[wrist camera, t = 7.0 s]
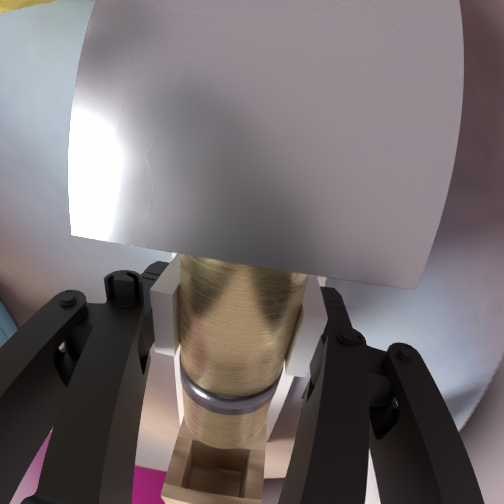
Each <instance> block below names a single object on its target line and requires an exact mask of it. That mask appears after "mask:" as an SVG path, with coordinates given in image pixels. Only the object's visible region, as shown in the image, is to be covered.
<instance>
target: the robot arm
mask: <svg viewBox="0 0 504 504" xmlns="http://www.w3.org/2000/svg"><path fill="white" fill-rule="evenodd" d="M104 283H105V290H106V296H107V301H106V303H104V304H96V303H87V301H86V297H85V295H84V294H83V293H82V292H80V291H76V290H66V291H63V292H60V293H59V294H57V295H56V296H55V297H53V298H52V299H51V300H50V301H49V302H48V303H47V304H45V305H44V306H43V307H42V308H41V309H40V310H39V311H38V312H37V313H35V314H34V315H33V316H32V317H31V318H30V319H29V320H28V321H27V322H26V323H25V324H24V325H23V326H22V327H21V328H19V329H18V330H17V331H16V332H15V333H14V334H13V335H12V336H11V337H10V338H9V339H8V340H7V341H6V342H5V343H4V344H3V345H2V346H1V347H0V504H9V503H10V501H11V500H12V498H13V496H14V494H15V492H16V490H17V488H18V486H19V484H20V482H21V480H22V478H23V477H24V475H25V473H26V471H27V469H28V468H29V466H30V464H31V463H32V461H33V459H34V457H35V456H36V454H37V452H38V450H39V449H40V447H41V446H42V444H43V442H44V441H45V439H46V437H47V436H48V434H49V433H50V431H51V429H52V428H53V430H52V434H51V437H50V440H49V444H48V447H47V451H46V454H45V458H44V462H43V466H42V470H41V474H40V479H39V483H38V488H37V491H36V492H35V494H34V495H32V496H30V497H27V498H25V499H24V500H23V501H22V502H21V503H20V504H132V490H133V477H134V466H135V457H136V448H137V440H138V432H139V425H140V418H141V411H142V405H143V399H144V393H145V387H146V381H147V376H148V371H149V365H150V360H151V358H150V348H151V346H152V344H153V343H154V345H155V352H158V353H162V354H166V355H170V356H174V357H175V355H176V352H177V350H178V348H179V345H180V254H178V253H177V254H176V256H175V257H174V258H173V260H172V261H171V262H170V263H167V262H161V261H157V262H155V263H153V264H151V265H149V266H148V268H147V269H146V270H145V271H144V273H142V274H141V275H140V274H138V273H137V272H134V271H129V270H120V271H115V272H112V273H110V274H108V275H107V276H106V277H105V278H104ZM62 343H64V348H63V349H61V350H59V348H58V347H59V346H60V345H61V344H62ZM309 368H310V374H311V378H310V380H309V382H308V384H307V387H306V389H305V391H304V393H303V395H302V399H304V403H303V407H302V412H301V417H300V421H299V426H298V430H297V435H296V439H295V443H294V447H293V451H292V455H291V459H290V463H289V467H288V470H287V474H286V478H285V481H284V485H283V489H282V492H281V495H280V498H279V502H278V504H365V499H366V489H367V477H368V462H369V449H370V454H371V458H372V463H373V468H374V472H375V477H376V482H377V487H378V492H379V498H380V503H381V504H484V501H483V497H482V494H481V491H480V488H479V485H478V482H477V479H476V476H475V473H474V470H473V467H472V465H471V462H470V459H469V457H468V454H467V452H466V449H465V447H464V444H463V442H462V439H461V437H460V435H459V432H458V430H457V428H456V425H455V423H454V421H453V419H452V416H451V414H450V412H449V410H448V408H447V406H446V404H445V402H444V399H443V397H442V395H441V393H440V391H439V389H438V387H437V385H436V383H435V381H434V380H433V378H432V376H431V374H430V372H429V370H428V368H427V366H426V364H425V363H424V361H423V359H422V357H421V355H420V354H419V353H418V351H417V350H416V349H414V348H413V347H412V346H410V345H408V344H405V343H393V344H392V345H390V346H389V348H388V350H387V352H386V351H383V350H379V349H376V348H373V347H370V346H368V345H367V344H366V340H365V337H364V336H363V335H362V334H361V333H360V332H358V331H357V330H355V329H353V328H352V325H351V322H350V319H349V316H348V313H347V311H346V308H345V305H344V302H343V299H342V296H341V295H340V294H339V293H338V292H337V291H336V290H335V288H329V287H322V286H320V285H319V282H318V278H317V276H315V275H309V278H308V282H307V286H306V289H305V293H304V297H303V301H302V304H301V308H300V311H299V315H298V318H297V322H296V325H295V329H294V332H293V335H292V339H291V342H290V345H289V349H288V352H287V355H286V358H285V375H288V376H298V377H306V375H307V373H308V370H309ZM396 401H397V403H396ZM397 404H398V406H397ZM53 426H54V427H53Z"/></svg>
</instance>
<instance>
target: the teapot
mask: <svg viewBox="0 0 504 504" xmlns="http://www.w3.org/2000/svg"><path fill="white" fill-rule="evenodd" d="M17 330H18V328H17V326H16V324H15V323H14V321H13V319H12V317H11V316H10V314H9V312H8V311H7V309H6V308H5V306H4V305H3V303H2V302H1V300H0V347H1V346H2V345H3V344H4V343H5V342H6V341H7V340H8V339H9V338H10V337H11V336H12V335H13V334H14V333H15V332H16V331H17Z"/></svg>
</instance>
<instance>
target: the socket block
mask: <svg viewBox="0 0 504 504" xmlns="http://www.w3.org/2000/svg"><path fill="white" fill-rule="evenodd" d="M266 432H267V415H266V418H265V421H264V423H263V426H262V429H261V431H260V433H259V434H258V436H257V437H256V438H255V439H254V440H253V441H251V442H250V443H248V444H246V445H244V446H241V447H238V448H233V449H220V448H215V447H211V446H208V445H206V444H204V443H202V442H201V441H199V440H198V439H196V438H195V437H194V436H193V435H192V434H191V433H190V431H189V430H188V428H187V426H186V423H185V418H184V417H183V420H182V423H181V427H180V430H179V434H178V437H177V440H176V444H175V447H174V450H173V454H172V457H171V461H170V464H169V468H168V471H167V475H166V478H165V482H164V485H163V489H162V492H161V497H162V499H163V500H164V502H165V503H166V504H261V503H262V490H263V477H264V463H265V448H266Z"/></svg>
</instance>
